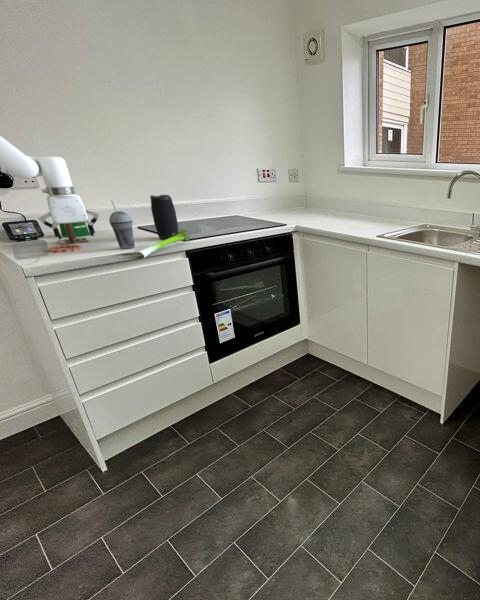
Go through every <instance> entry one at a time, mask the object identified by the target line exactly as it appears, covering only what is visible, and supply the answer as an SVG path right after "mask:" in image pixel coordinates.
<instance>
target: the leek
mask: <svg viewBox="0 0 480 600" xmlns="http://www.w3.org/2000/svg"><path fill="white" fill-rule="evenodd" d="M177 232H178V233H177V234H174V233H173V234H172V237H171V238H168V239H166V240H162V241H159V242H156V243H153V244H151V245H149V246H147V247H144V248H142V249H139V250H137V251H135V252H134V254H133V255H134V256H136V255H138V254H141V256H142V258H143V259H145V258H146V257H148V256H149V255H151V254H152V253H153V252H155V251H157V250H159V249H162V248H163V247H166V246H167V245H171V244H174V243H177V242H180V241H185V243H187V242H188V241H189V240H191V238H190V236H191V234H187V233H188V229H182V230H180V229H178V231H177ZM182 235H183V236H182ZM177 237H178V238H177Z"/></svg>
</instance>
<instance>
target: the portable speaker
mask: <svg viewBox="0 0 480 600" xmlns="http://www.w3.org/2000/svg"><path fill="white" fill-rule="evenodd" d="M149 199H150V209H151V215H152V218H153V219H152V220H153V223H154V227H155V230H156V233H157V235H158V238H159V240H162V241H164V240H166V239H169V238H171V237H172V234H173V233H174V234H177V233H178V232H177V231H178V230H179V222H178V217H177V214H176V213H177V212H176V208H175V205H174V202H173V199H172V197H171V195H169V194H160V195H153V194H152V195H150V197H149ZM177 238H178V237H177Z"/></svg>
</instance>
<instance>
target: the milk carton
mask: <svg viewBox="0 0 480 600" xmlns="http://www.w3.org/2000/svg"><path fill="white" fill-rule="evenodd" d="M79 197H80V198H81V195H79ZM58 226H59V229H60V230H59V231H60V235H61V237H66V238H68V236H67V232H66V229H65V226H64V223H63V224H58ZM72 227H73V230H74V233H75V236H76V238H80V237H84V236H91V235H90V232H89V229H88V226H87V223H86V222H76V223H72Z"/></svg>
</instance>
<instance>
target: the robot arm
mask: <svg viewBox="0 0 480 600" xmlns="http://www.w3.org/2000/svg"><path fill="white" fill-rule="evenodd" d="M0 167H1V168H3V169H5V170H6V171H7V172H9V173H10V174H12V175H13V176H14V177H17V178H20V179H25V180H28V179H33V178H36V177H37V178H38V177H42V179H43V183H44V185H45V188H42V189H41V193H42V194H47V196H46V202H47V206H48V210H49V211H47V212H46V213H44V214H43V215H41V216H39V217H38V220H39V221H40V222H41V223H42V224H44V225H45V226H46V227H49V228H50V229H52V231H53V234H54V237H55V238H58V240H62V235H61V232H60V230H59V228H58V226H59V224H63V223H76V222H85V223H86V226H87V228H88V231H89V233H90V235H89V236H91V237H94V236H95V235H94V234H96V231H95V227H94V224H96V222H97V221H98V218H99V213H98V212H95V211H91V210H88V209H86V208H85V205H84V202H83V200H82V198H81V196H80V195H79V194H76V191H75V190H76V189H75V188H74V185H73V181H72V179H71V175H70V172H69V169H68V166H67V163H66V160H65V159H64V158H63V157H61V156H48V155H46V156H45V155H44V156H43V155H42V156H30V155H26V154H25V153H23V152H22V151H21V150H19V149H18V148H17V147H15V146H14V145H13V144H11V142H9V141H8V140H6V139H5V138H4V137H3V136H2V135H0ZM79 196H80V197H79ZM88 215H90V216H92V218H91V219H90V220H89V216H88ZM49 217H51V219H52V221H53V222H52V223H50V222H49V221H47V220H46V219H48V218H49Z"/></svg>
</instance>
